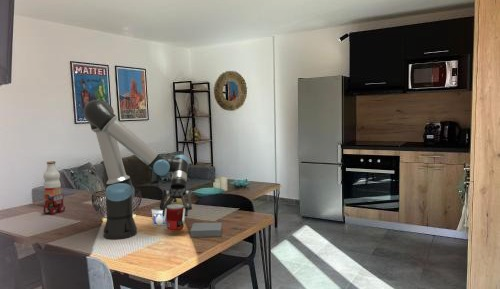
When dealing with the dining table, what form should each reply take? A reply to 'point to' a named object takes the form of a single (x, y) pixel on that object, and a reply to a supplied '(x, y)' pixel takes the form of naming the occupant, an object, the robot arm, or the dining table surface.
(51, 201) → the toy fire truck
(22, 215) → the dining table surface
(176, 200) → the tan rounded lump
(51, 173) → the fruit juice
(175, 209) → the canned food
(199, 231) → the grey flat block
